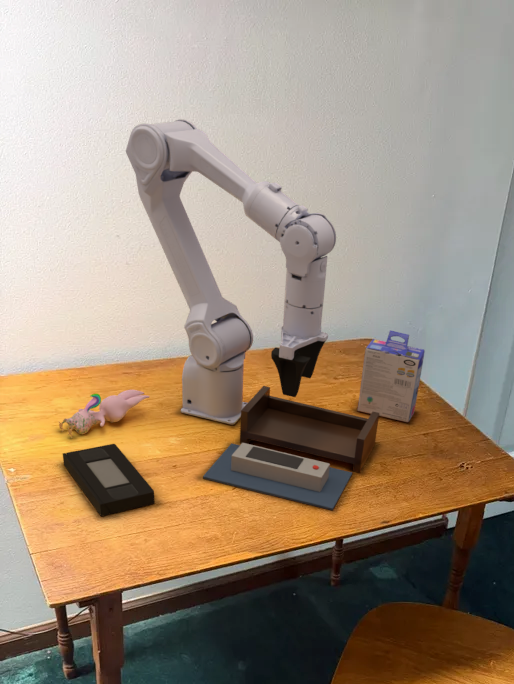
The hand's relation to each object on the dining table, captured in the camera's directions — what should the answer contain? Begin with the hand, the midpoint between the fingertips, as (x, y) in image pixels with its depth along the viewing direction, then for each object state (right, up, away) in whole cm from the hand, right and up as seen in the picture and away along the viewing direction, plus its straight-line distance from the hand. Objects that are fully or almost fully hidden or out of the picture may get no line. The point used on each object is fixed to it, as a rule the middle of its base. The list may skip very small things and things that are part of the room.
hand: (297, 385), depth 125 cm
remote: (-2, -15, -5) cm, 16 cm away
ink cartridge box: (+14, -1, +18) cm, 23 cm away
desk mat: (-2, -15, -5) cm, 16 cm away
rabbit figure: (-30, -6, 0) cm, 31 cm away
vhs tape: (-25, -17, -13) cm, 33 cm away
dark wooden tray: (+1, -9, +4) cm, 10 cm away
